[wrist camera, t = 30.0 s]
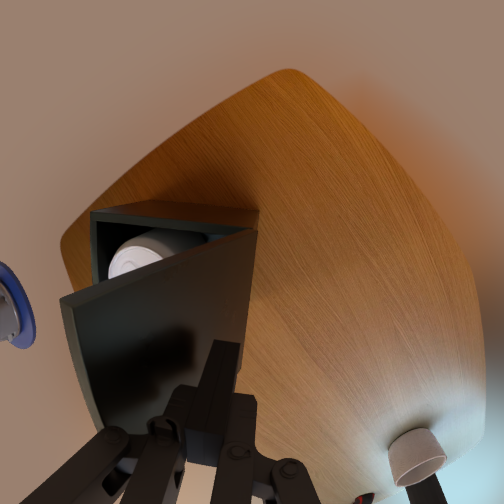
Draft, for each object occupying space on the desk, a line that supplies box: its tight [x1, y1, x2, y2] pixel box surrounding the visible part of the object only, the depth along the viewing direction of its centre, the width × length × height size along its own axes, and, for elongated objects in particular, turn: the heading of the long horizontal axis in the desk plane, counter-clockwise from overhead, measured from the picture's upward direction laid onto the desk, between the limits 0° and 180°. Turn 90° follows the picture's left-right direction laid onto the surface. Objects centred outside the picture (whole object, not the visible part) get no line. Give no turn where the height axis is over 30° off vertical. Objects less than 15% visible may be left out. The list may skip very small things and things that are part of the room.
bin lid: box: [60, 229, 258, 434], centre depth 15 cm, size 15×13×1 cm
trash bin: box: [90, 200, 259, 285], centre depth 29 cm, size 15×13×14 cm
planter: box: [388, 428, 447, 487], centre depth 39 cm, size 12×12×11 cm
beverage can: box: [108, 227, 206, 279], centre depth 29 cm, size 8×8×12 cm
